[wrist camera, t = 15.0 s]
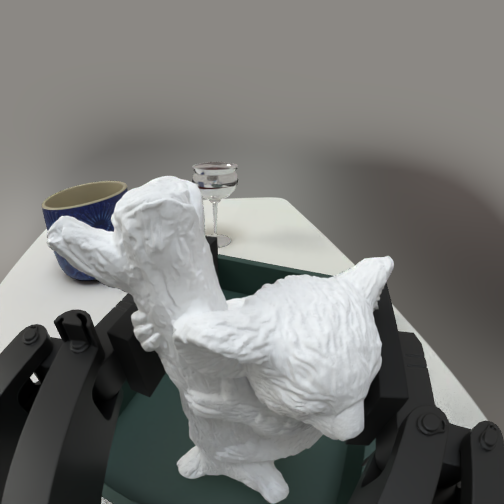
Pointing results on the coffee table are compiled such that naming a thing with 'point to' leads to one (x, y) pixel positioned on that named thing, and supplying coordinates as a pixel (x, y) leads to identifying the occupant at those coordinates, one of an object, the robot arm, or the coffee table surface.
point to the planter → (84, 211)
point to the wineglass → (216, 188)
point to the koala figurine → (236, 335)
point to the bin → (179, 443)
